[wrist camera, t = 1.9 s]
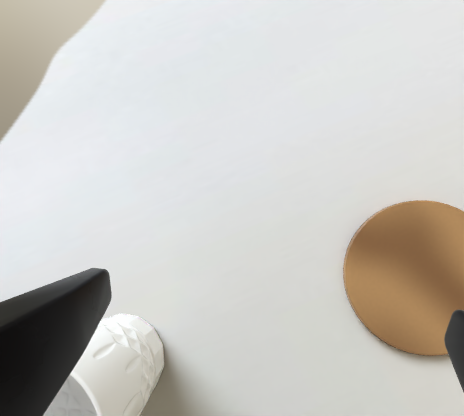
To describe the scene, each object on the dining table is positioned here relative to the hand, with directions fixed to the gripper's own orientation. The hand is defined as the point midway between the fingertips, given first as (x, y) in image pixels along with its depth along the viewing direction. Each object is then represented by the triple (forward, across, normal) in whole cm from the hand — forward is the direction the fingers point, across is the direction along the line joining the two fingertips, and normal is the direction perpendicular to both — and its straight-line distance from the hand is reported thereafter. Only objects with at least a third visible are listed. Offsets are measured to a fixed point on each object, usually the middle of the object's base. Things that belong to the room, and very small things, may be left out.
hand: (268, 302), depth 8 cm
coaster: (+14, -11, +7) cm, 19 cm away
